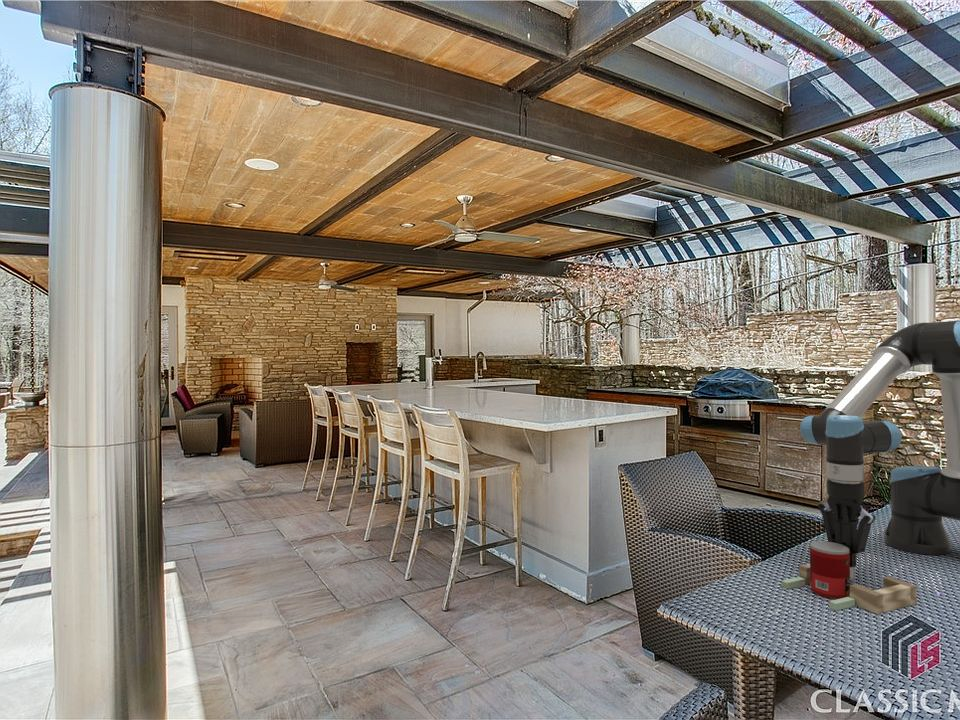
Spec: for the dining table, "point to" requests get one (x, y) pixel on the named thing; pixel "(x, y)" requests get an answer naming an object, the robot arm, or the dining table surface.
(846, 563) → the canned food
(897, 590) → the lane
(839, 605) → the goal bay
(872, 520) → the robot arm
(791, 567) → the dining table surface
